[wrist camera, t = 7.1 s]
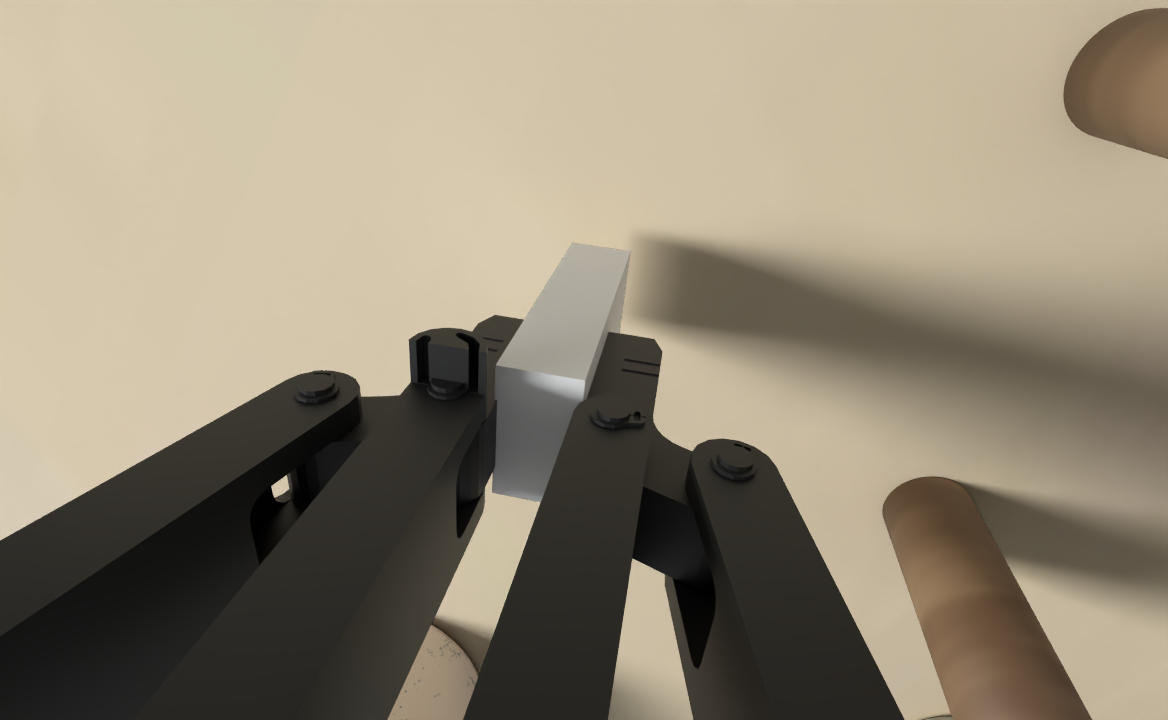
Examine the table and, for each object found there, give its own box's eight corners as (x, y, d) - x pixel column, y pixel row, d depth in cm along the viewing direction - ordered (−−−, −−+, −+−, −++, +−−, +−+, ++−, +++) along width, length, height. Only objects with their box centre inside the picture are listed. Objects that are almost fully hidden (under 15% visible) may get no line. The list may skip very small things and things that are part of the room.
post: (986, 485, 19) (1175, 805, 11) (954, 547, 20) (1104, 873, 13) (898, 470, 19) (1023, 772, 12) (871, 531, 21) (968, 841, 13)
